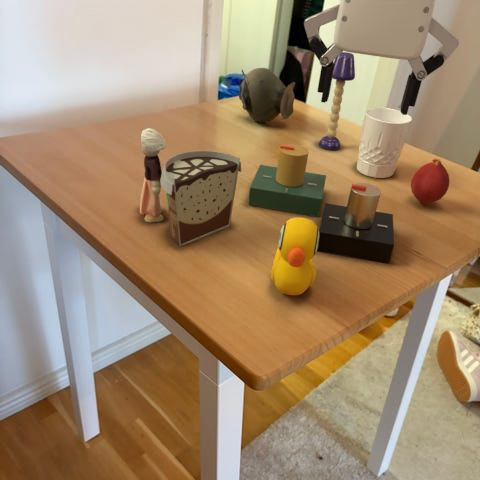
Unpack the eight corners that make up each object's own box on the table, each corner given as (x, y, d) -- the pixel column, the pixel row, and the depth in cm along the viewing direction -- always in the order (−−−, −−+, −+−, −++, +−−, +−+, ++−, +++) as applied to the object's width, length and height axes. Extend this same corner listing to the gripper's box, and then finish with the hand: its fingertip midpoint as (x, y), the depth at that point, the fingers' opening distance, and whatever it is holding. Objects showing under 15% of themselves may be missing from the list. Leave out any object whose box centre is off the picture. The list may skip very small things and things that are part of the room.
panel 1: (323, 192, 88) (326, 174, 86) (318, 217, 81) (322, 198, 79) (258, 181, 89) (260, 163, 87) (248, 205, 82) (250, 186, 80)
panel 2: (387, 232, 79) (393, 212, 77) (388, 263, 72) (394, 243, 70) (321, 220, 80) (325, 201, 78) (316, 251, 73) (320, 230, 71)
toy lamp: (312, 143, 104) (327, 51, 94) (327, 139, 107) (344, 49, 96) (330, 152, 102) (348, 58, 91) (345, 147, 104) (365, 55, 94)
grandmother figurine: (133, 206, 79) (129, 120, 71) (159, 203, 80) (157, 118, 72) (146, 231, 73) (143, 142, 65) (173, 228, 75) (173, 139, 67)
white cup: (364, 158, 101) (377, 104, 94) (402, 171, 97) (418, 116, 91) (345, 170, 96) (357, 114, 89) (385, 184, 92) (401, 126, 86)
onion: (412, 193, 90) (427, 147, 85) (445, 204, 88) (462, 158, 83) (400, 204, 86) (414, 157, 81) (433, 216, 84) (450, 169, 79)
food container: (208, 206, 81) (212, 142, 74) (237, 223, 77) (242, 157, 71) (142, 231, 73) (140, 162, 67) (170, 250, 70) (170, 179, 64)
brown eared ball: (273, 135, 106) (280, 80, 100) (224, 119, 111) (227, 66, 104) (297, 122, 113) (304, 71, 107) (249, 108, 118) (254, 58, 111)
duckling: (309, 321, 61) (325, 247, 55) (263, 313, 61) (274, 239, 55) (314, 267, 70) (328, 198, 63) (273, 261, 70) (283, 192, 64)
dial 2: (372, 218, 75) (381, 183, 72) (372, 231, 72) (381, 196, 69) (344, 213, 76) (352, 178, 73) (343, 226, 73) (351, 191, 69)
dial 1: (304, 177, 84) (310, 144, 81) (301, 188, 81) (307, 155, 78) (277, 172, 85) (282, 140, 82) (273, 184, 82) (278, 150, 78)
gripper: (484, -59, 56) (433, 107, 67) (322, -78, 58) (298, 86, 69) (495, -55, 50) (437, 126, 61) (314, -75, 52) (289, 103, 63)
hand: (363, 105), depth 65 cm, fingers open, 9 cm apart
